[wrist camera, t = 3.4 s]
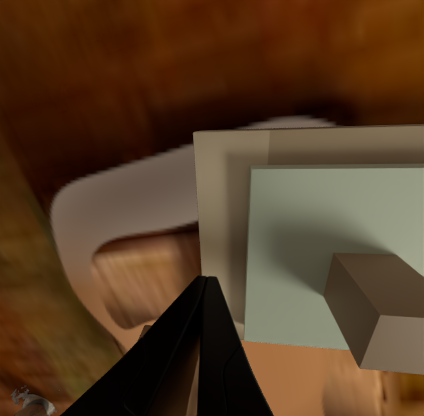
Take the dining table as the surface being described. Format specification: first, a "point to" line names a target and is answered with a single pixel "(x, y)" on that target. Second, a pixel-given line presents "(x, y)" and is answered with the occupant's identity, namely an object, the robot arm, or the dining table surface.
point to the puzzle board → (274, 155)
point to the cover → (338, 261)
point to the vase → (33, 405)
